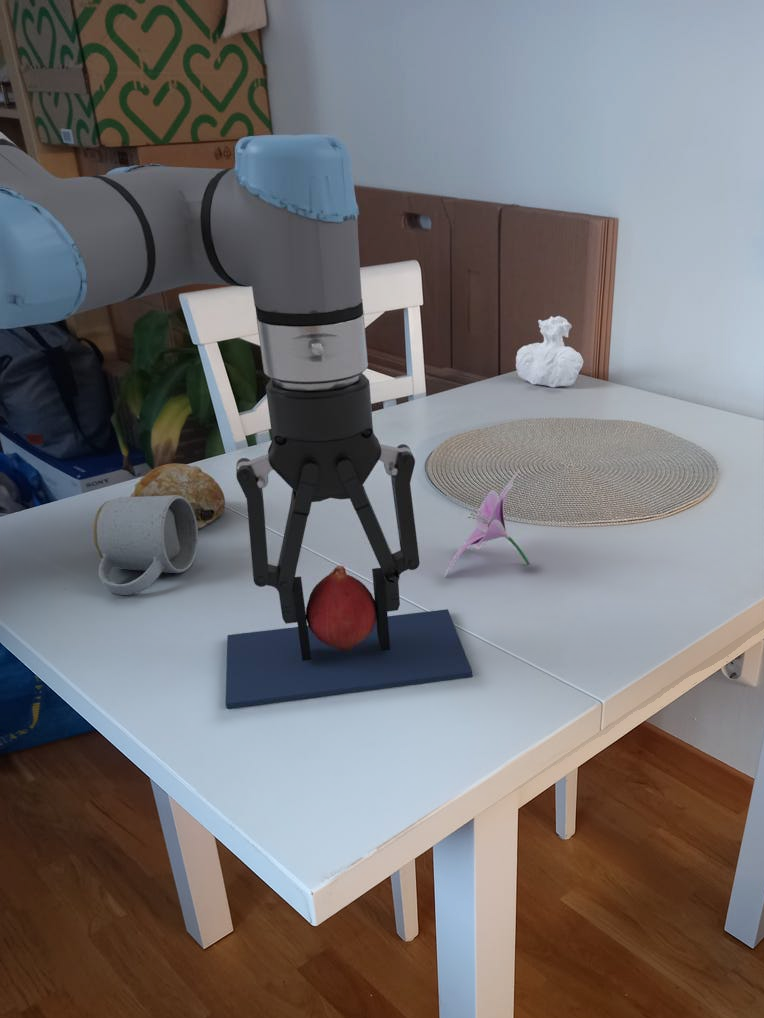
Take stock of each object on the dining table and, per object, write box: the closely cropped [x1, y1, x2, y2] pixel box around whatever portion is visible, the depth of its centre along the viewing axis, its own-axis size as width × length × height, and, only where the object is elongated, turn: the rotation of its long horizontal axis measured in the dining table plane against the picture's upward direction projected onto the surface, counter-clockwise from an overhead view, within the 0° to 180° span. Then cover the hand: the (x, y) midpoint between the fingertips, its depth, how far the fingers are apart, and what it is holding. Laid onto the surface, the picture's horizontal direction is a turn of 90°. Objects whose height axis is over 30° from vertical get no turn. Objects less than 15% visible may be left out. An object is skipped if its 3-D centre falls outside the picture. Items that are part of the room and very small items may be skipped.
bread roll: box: [129, 462, 226, 530], centre depth 105 cm, size 10×10×8 cm
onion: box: [305, 565, 377, 651], centre depth 77 cm, size 6×6×8 cm
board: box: [225, 608, 474, 709], centre depth 80 cm, size 20×11×1 cm, turn 102°
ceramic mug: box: [92, 495, 199, 596], centre depth 92 cm, size 11×8×8 cm
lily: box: [444, 469, 531, 577], centre depth 93 cm, size 12×12×10 cm
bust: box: [515, 315, 584, 388], centre depth 150 cm, size 12×8×11 cm
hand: (345, 646), depth 79 cm, fingers closed on onion, 6 cm apart
